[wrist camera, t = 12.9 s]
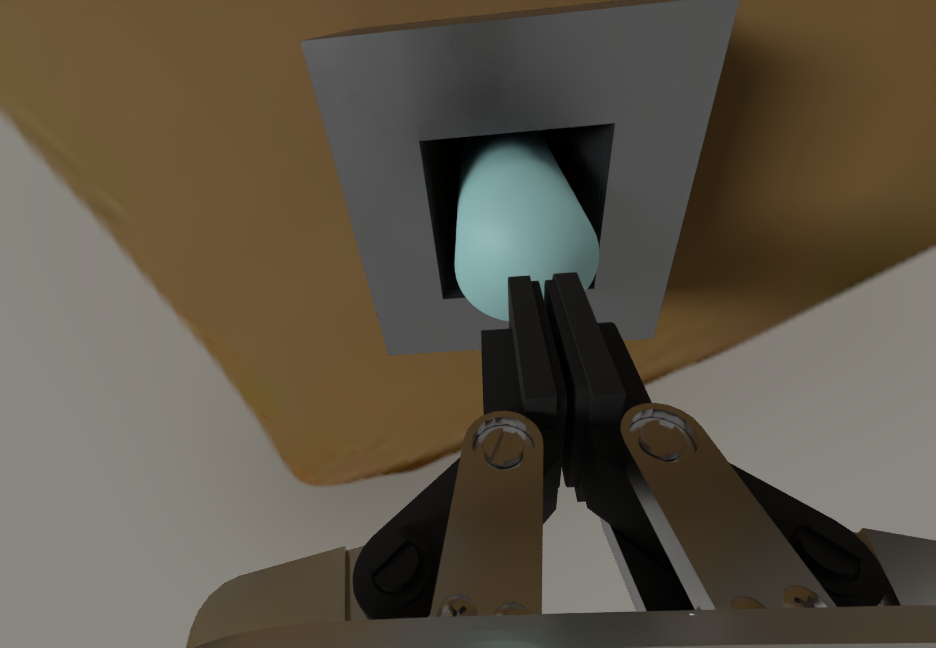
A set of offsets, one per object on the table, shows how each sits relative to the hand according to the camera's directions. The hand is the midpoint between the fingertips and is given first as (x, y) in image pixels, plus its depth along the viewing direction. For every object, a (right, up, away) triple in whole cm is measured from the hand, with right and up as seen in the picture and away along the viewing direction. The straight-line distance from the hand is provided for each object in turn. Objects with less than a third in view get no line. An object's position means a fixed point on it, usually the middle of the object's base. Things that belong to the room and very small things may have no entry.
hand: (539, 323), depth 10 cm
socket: (0, +8, +10) cm, 13 cm away
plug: (0, +8, +10) cm, 13 cm away
